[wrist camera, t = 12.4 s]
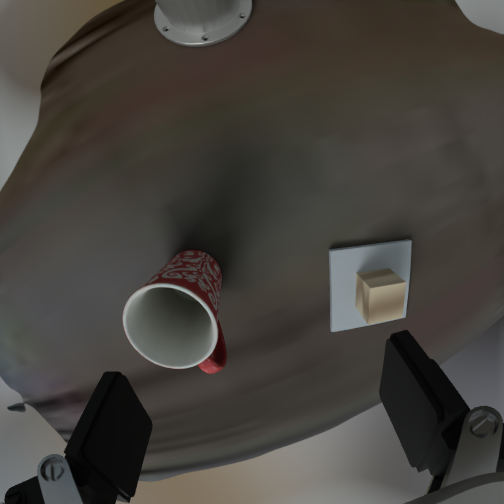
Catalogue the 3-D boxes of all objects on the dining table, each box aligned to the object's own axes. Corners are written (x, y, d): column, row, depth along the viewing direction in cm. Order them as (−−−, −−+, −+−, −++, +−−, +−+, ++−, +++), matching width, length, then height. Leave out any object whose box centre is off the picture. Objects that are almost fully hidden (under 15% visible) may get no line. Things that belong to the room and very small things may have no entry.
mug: (148, 260, 37) (104, 307, 24) (206, 229, 36) (183, 266, 23) (196, 335, 40) (178, 402, 27) (253, 311, 39) (255, 377, 26)
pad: (328, 249, 37) (330, 251, 36) (408, 239, 36) (411, 240, 36) (330, 329, 40) (331, 332, 39) (403, 314, 40) (405, 317, 39)
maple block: (356, 273, 37) (370, 288, 32) (389, 268, 37) (406, 282, 32) (355, 306, 38) (367, 324, 33) (387, 300, 38) (402, 317, 33)
